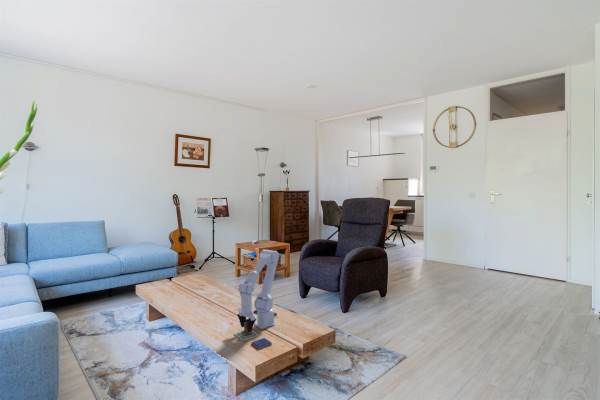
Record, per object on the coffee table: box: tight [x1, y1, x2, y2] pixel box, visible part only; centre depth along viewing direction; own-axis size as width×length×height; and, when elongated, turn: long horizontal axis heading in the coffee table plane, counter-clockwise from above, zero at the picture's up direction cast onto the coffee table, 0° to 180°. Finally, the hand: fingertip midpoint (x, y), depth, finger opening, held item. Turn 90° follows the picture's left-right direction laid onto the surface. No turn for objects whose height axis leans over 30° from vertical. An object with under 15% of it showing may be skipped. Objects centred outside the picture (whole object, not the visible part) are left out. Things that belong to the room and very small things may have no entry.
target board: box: [233, 329, 260, 342], centre depth 178 cm, size 10×10×1 cm
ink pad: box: [250, 337, 273, 350], centre depth 167 cm, size 8×7×1 cm
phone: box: [253, 309, 278, 317], centre depth 207 cm, size 8×1×15 cm
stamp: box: [241, 322, 252, 336], centre depth 178 cm, size 5×4×6 cm
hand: (246, 329), depth 177 cm, fingers open, 7 cm apart
